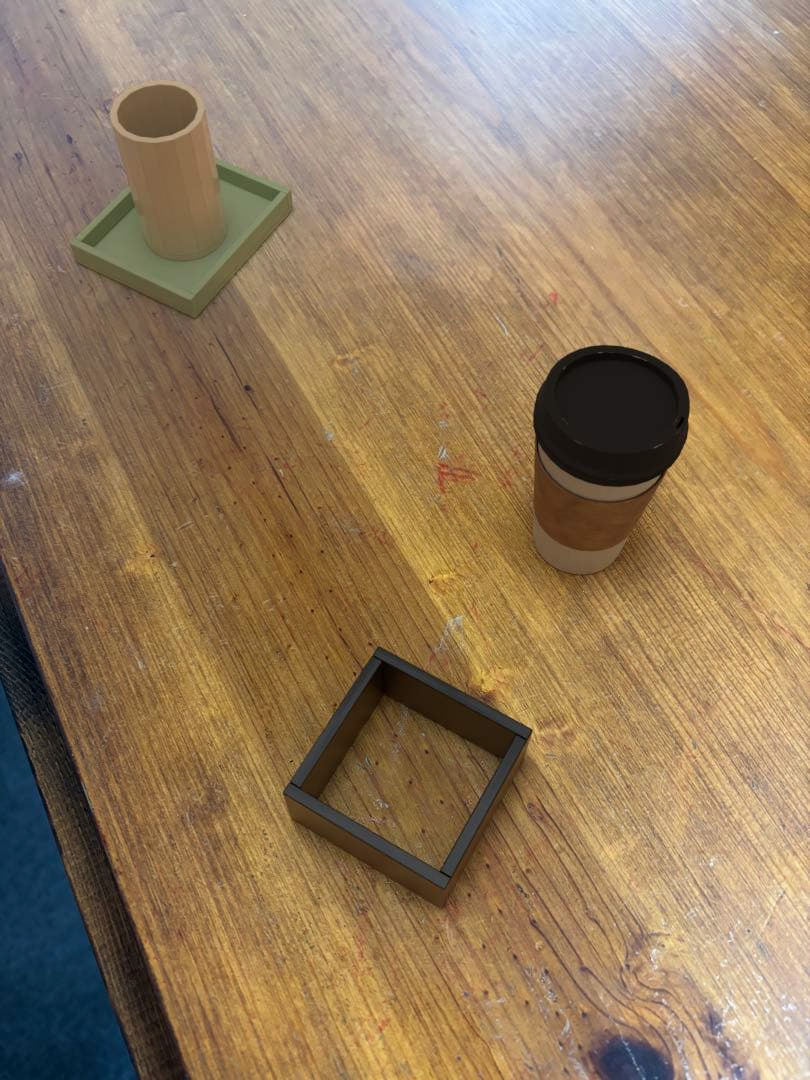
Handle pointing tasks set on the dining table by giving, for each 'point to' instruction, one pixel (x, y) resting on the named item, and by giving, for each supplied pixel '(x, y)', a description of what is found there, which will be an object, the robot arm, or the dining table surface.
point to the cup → (170, 168)
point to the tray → (192, 283)
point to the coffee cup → (602, 451)
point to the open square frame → (438, 705)
